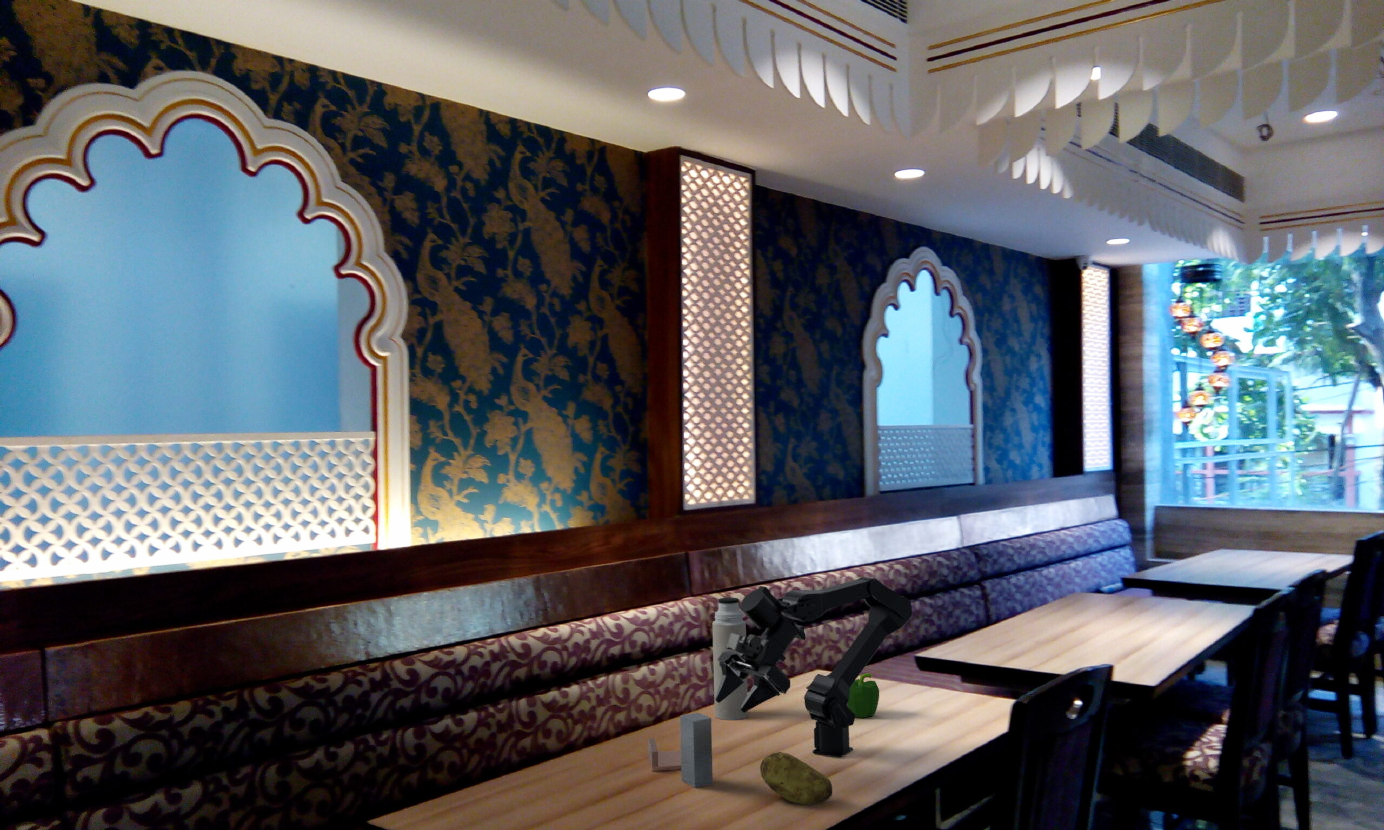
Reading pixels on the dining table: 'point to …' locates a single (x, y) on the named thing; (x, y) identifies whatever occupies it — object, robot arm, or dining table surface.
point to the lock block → (696, 749)
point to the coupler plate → (663, 758)
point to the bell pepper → (863, 697)
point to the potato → (795, 779)
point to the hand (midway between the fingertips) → (729, 706)
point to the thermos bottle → (724, 624)
